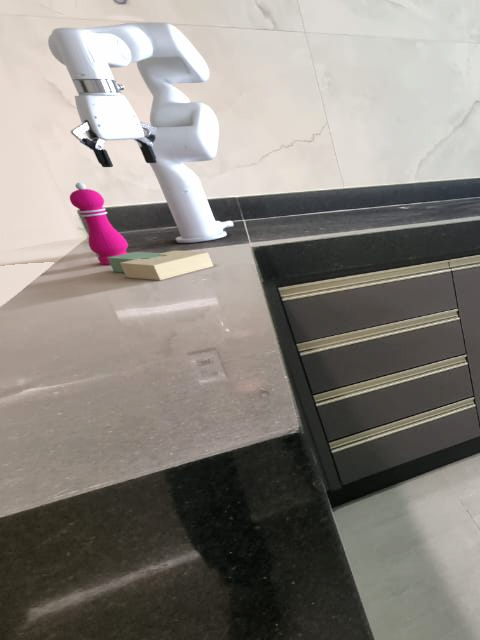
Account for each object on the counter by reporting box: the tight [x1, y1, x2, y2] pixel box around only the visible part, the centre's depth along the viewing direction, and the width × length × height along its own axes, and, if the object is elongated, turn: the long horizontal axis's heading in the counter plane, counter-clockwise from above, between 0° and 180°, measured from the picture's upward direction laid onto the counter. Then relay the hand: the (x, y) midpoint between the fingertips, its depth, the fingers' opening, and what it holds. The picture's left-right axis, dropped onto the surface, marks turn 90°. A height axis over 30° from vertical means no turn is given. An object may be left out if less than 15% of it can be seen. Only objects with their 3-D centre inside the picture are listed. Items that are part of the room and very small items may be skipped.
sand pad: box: [120, 249, 214, 281], centre depth 126 cm, size 12×12×4 cm
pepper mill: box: [69, 182, 129, 266], centre depth 135 cm, size 7×7×20 cm
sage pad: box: [108, 251, 163, 273], centre depth 129 cm, size 6×13×4 cm, turn 71°
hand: (130, 164), depth 133 cm, fingers open, 9 cm apart
